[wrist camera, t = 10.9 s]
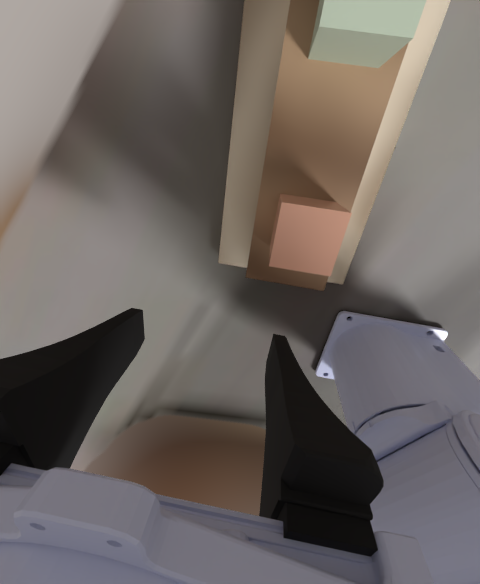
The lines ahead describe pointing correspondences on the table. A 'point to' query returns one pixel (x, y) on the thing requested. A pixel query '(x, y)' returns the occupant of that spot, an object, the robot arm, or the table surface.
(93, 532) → the robot arm
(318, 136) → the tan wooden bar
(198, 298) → the table surface
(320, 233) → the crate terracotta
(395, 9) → the pale green cube
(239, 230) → the dock
